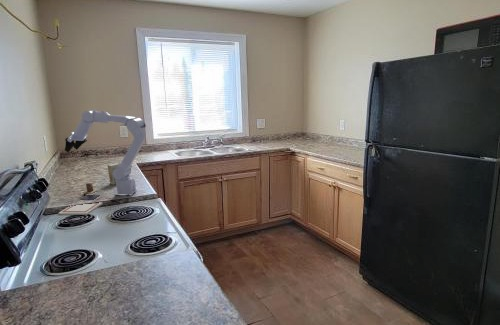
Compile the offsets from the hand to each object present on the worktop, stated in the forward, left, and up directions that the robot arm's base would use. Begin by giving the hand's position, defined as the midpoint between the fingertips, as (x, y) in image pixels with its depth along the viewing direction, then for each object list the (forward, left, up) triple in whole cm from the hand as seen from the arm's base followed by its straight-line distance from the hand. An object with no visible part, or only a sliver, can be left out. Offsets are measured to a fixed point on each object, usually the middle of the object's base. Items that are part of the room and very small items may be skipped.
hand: (71, 149), depth 170 cm
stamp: (-8, 0, -26) cm, 27 cm away
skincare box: (-13, -20, -26) cm, 35 cm away
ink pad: (-14, +10, -25) cm, 30 cm away
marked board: (-17, +23, -25) cm, 38 cm away
